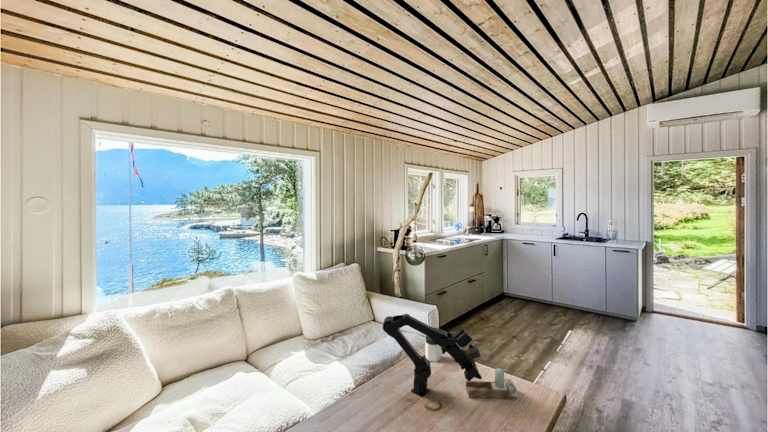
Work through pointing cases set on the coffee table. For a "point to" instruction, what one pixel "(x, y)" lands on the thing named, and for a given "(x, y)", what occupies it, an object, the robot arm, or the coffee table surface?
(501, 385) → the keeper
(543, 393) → the coffee table surface
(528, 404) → the coffee table surface
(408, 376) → the coffee table surface
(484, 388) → the brown wooden open box
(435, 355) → the jar
